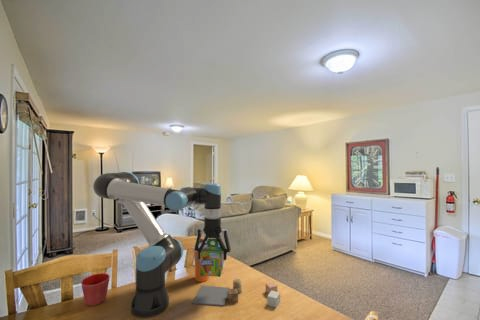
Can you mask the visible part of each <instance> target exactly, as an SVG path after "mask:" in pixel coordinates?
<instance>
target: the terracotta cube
mask: <svg viewBox="0 0 480 320" xmlns="http://www.w3.org/2000/svg"><path fill="white" fill-rule="evenodd" d="M271 290H272V291H276V292H278V285H277V284H276V283H275V282H274V281H271V282H267V283H266V282H265V293H266V294H267V296H268V295H269V293H270V292H271Z"/></svg>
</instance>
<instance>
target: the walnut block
mask: <svg viewBox="0 0 480 320" xmlns="http://www.w3.org/2000/svg"><path fill="white" fill-rule="evenodd" d="M227 299H228V304H235V303H237V304H238V303H239V294H238V291H237V289H233V288H230V289H228V296H227Z"/></svg>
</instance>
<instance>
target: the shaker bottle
mask: <svg viewBox="0 0 480 320" xmlns="http://www.w3.org/2000/svg"><path fill="white" fill-rule="evenodd" d="M203 240H204V238H201V239H200V243H199V248H200V246H201V244H202V242H203ZM207 243H208V240H207V241H206V243H205V244H207ZM194 248H195V244H194V245H193V253H194V279H195V281H196V282H199V283H204V282H207V281H208V280H209V278H210V276H201V275H200V273H201V267H200V259H199V258H198V251H195V250H194Z"/></svg>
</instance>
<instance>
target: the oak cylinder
mask: <svg viewBox="0 0 480 320" xmlns="http://www.w3.org/2000/svg"><path fill="white" fill-rule="evenodd" d="M242 284H243V283H242V279H239V278H235V279H233V280H232V289H237V291H238V295H239V294H241V293H242V291H243V290H242Z"/></svg>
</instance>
